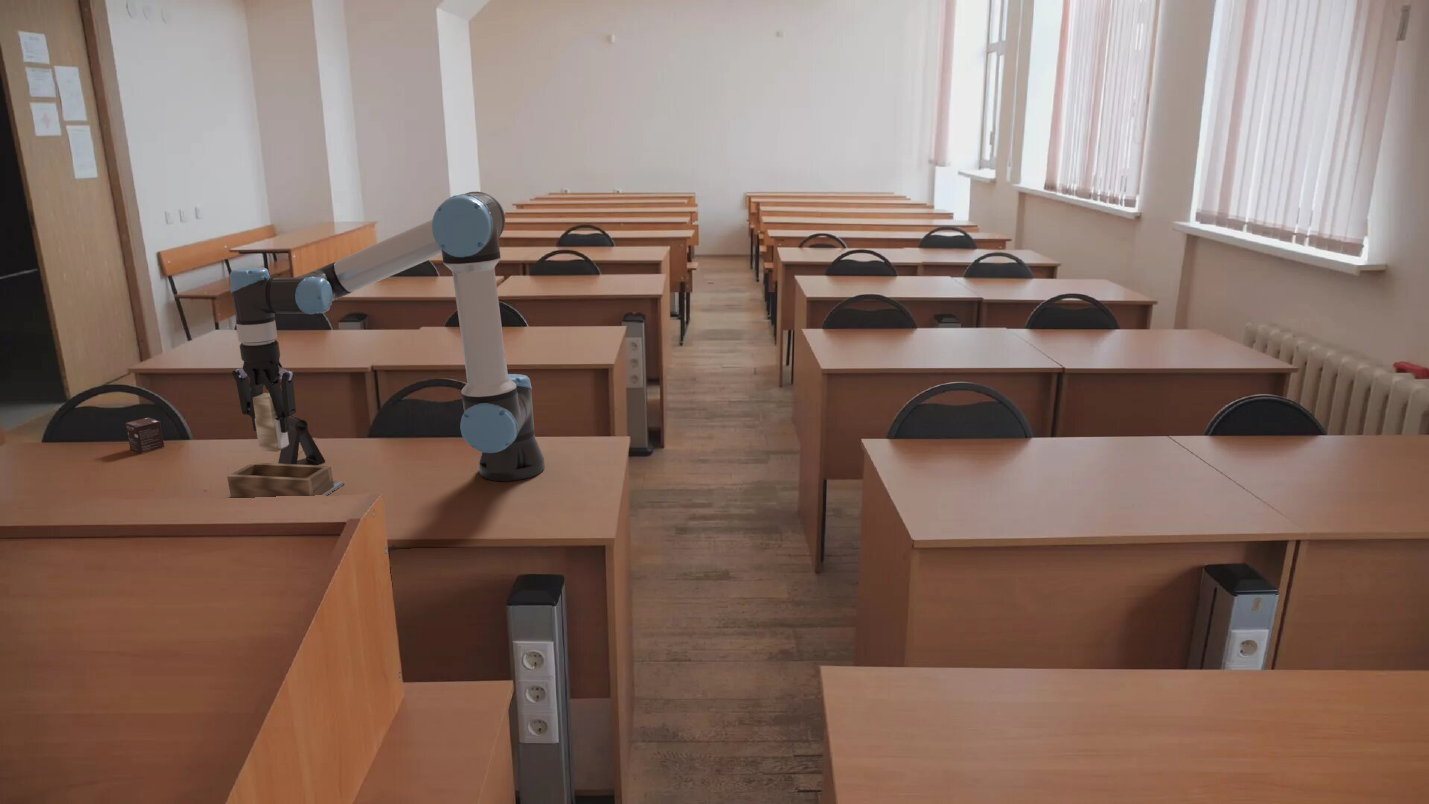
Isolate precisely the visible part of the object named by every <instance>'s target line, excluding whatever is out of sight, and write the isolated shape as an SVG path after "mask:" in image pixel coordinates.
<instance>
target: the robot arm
mask: <svg viewBox="0 0 1429 804" xmlns="http://www.w3.org/2000/svg"><path fill="white" fill-rule="evenodd" d="M505 226H506V214H505V211H504V209H503V207H502V206H501V204H500V202H499V201H498V200H497V199H496V198H495V197H493V196H492V195H490V194H488V193H486V192H482V191H470V192H466V193H462V194H458V195H456V194H455V195H453V196H451V197H449V198H447V199H446V200H444V201H443V202H442V203H441V204H440V205H439V206H438V207H437V209H436V210H435V212H434V215H433V216H432V219H430V220H428V221H425V222H423V223H421V224H419V225H416V226H414V227H411V228H410V229H407V230H405V231H403V232H400V233H398V234H395V235H393V236H391V237H389V238H386V239H385V240H382V241H380V242H377V243H375V244H373V245H371V246H368V247H366V248H364V249H361V250H359V251H357V252H354V253H352V254H350V255H347V256H345V257H343V258H341V259H338V260H336V261H334V262H331V263H328V264H326V265H323V266H321V267H319V268H317V269H314V270H312V271H310V272H307V273H304V274H302V275H299V276H295V277H272V276H270V273H269V270H268V269H267V268H265V267H260V266H251V267H249V266H248V267H240V268H236V269H233V270H232V271H230V273H229V282H230V291H229V292H230V294H231V298H232V304H233V309H234V316H235V317H234V318H235V325H236V333H237V340H238V342H240V344H239V352H240V359H241V360H242V361H243V364H242V367H239V368H237V369H235V370H232V372H231V374H232V376H233V379H234V380H235V383H236V387H237V394H238V397H239V403H240V408H241V413H242V414H243V415H244V416H245V415H247V416H250V417H251V422H252V429H253V431H254V432H256V437H257V442H258V447H259V448H260V444H259V438H258V431H257V424H256V418H255V411H254V405H253V397H257V396H259V395H261V394H263V393H264V386H265V389H266V390H267V391H268V393H269V394H270V397H271V398H272V403H273V406H274V409H275V412H276V415H277V418H275V420H274V421H275V428H276V435H277V441H278V448H283V447H285V446H287V445H289V440H288V433H287V432H288V431H289V430H290V427H289V420H288V417H291V415H292V416H294V415H295V414H296V413H297V407H296V398H295V395H296V394H295V388H294V378H295V376H296V373H295V371H294V370H293V369H291V370H288V369H285V368H284V367H283V366H282V364H281V360H280V359H281V358H280V357H281V351H280V343H279V341H278V340H277V339H278V331H277V324H276V316H275V315H276V314H277V315H279V314H288V315H292V314H296V315H297V314H298V315H299V314H300V315H304V314H307V315H315V314H325V313H327V312H329V311H330V309H331V306H332V305H333V302H334V301H336V300H339V299H341V298H342V297H346V296H347V295H348V296H349V295H350V294H352V293H355V292H356V291H358V290H361V289H363V288H365V287H368V286H370V285H373V284H375V283H377V282H379V281H382V280H384V279H387V278H389V277H392V276H394V275H396V274H399V273H402V272H403V271H406V270H408V269H411V268H413V267H415V266H417V265H420V264H422V263H425V262H427V261H429V260H432V259H434V258H437V257H438V256H441V255H442V263H443V265H444V266H445V267H446V268H448V269H449V270H450V271H451V272H452V279H453V280H452V281H453V287H454V288H453V289H454V295H455V303H456V309H457V315H458V317H457V318H458V323H459V331H460V338H461V345H462V353H463V359H464V366H465V374H466V375H465V376H466V381H467V382H466V384H465V385H464V386H463V388H462V389H461V397H462V405H463V406H462V407H463V413H462V416H461V420H460V424H459V425H460V426H459V427H460V428H459V429H460V432H461V433H460V434H461V436H462V438H463V440H464V441H465V443H467V445H469V446H470V447H471V448H472V449H474V450H476V451H478V452H481V454H480V458H479V462H478V468H479V469H478V470H479V471H478V474H479V475H480V476H481V477H482V478H484V479H487V480H489V481H495V482H497V481H498V482H510V481H512V482H513V481H520V480H524V479H525V480H526V479H528V478H532V477H535V476H536V475H540V474H541V473H542V472H543V471H544V470H545V468H546V463H545V457H544V454H543V452H542V450H541V448H540V445H539V443H538V441H537V439H536V435H535V424H534V422H535V421H534V410H533V409H534V407H533V395H532V391H533V387H532V385H531V379H530V378H529V377H528V375H525V374H517V373H508V367H507V366H508V365H507V357H506V349H505V342H504V333H503V327H502V326H503V325H502V317H501V311H500V301H499V293H498V286H497V277H496V269H495V268H496V266H497V264H498V263H499V262H500V261H501V248H500V242H499V241H500V240H499V238H501V236H502V234H503V233H504V229H505Z"/></svg>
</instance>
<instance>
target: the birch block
mask: <svg viewBox="0 0 1429 804" xmlns="http://www.w3.org/2000/svg"><path fill="white" fill-rule="evenodd" d="M253 405H254V411H255V418H256V424H257V431H258V438H259V444H260V447H259V451H260V452H273V453H274V452H275V453H278V452H279V451H280V452H281V449H283V448H285V447H287V446H288V445H287V446H285V447H283V448H278V441H277V435H276V428H275V421H274V420H275V418H277V415H276V412H275V409H274V406H273V403H272V398H271V397H270V394H269V392H263V394H261V395H259V396H257V397H253ZM257 431H256V432H257ZM258 438H257V439H258ZM259 444H258V445H259Z"/></svg>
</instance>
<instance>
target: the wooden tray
mask: <svg viewBox="0 0 1429 804" xmlns="http://www.w3.org/2000/svg"><path fill="white" fill-rule="evenodd" d="M332 470H333V469H332V466H331V465H319V464H318V465H297V464H278V462H277V463H274V462H251V463H249V464H247V465H246V466H244V467H242V468H240V469H238V470H236V471H235V472H233V473H231V474H229V475H227V476H226V478H227V482H228V483H227V484H228V487H229V488H228V489H229V495H230V497H229V498H255V497H276V496H315V495H327V494H330V493H331V494H332V491H333V490H335V489H337V488H338V487H340V488H341V486H342V485H343V484H344V485H345V481H344V480H343V481H341V480H334V478H333V477H334V476H333V471H332ZM344 485H343V486H344ZM343 486H342V487H343ZM337 490H338V489H337ZM331 494H330V495H331Z"/></svg>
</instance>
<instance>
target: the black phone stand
mask: <svg viewBox="0 0 1429 804" xmlns="http://www.w3.org/2000/svg"><path fill="white" fill-rule="evenodd" d="M288 420H289V427H290V430H289V431H288V432H287V433H288V440H289V445H288V446H287V447H285V448H283V449H281V450H280V452H279V453H280V454H279V457H278V462H277V464H297V465H318V466H319V465H321V464H325V463H326V459H325V458H324V455H323V454H322V453H321V451H320V449H319V447H318V446H317V444H316V442H315V441H314V438H313V437H312V435H311V433H310V432H309V429H308V425H309V424H308V422H307V421H306V420H305V419H303V418H300V417H297V416H295V415H291V416H289V417H288ZM300 447H301V449H302V451H303V452H304V455H305V458H301V459H298V457H299V449H300Z"/></svg>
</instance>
